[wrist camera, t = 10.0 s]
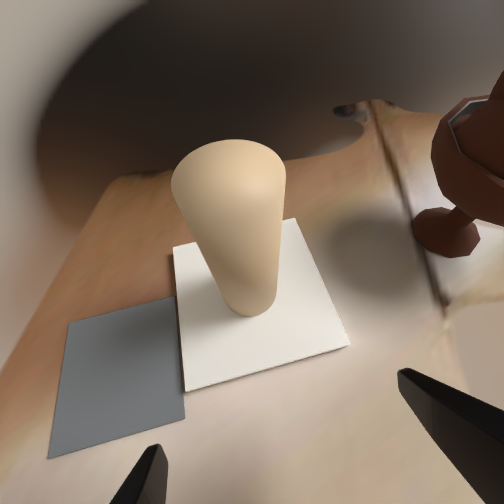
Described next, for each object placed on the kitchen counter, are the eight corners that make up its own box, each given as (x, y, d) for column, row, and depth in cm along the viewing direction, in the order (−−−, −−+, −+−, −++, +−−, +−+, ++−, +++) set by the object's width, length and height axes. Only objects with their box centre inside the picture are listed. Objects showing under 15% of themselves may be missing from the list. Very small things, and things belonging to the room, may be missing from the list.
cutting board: (347, 346, 18) (351, 344, 17) (189, 391, 17) (185, 391, 16) (293, 223, 24) (294, 217, 23) (176, 252, 23) (172, 247, 22)
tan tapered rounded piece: (283, 308, 18) (303, 203, 8) (229, 323, 18) (175, 233, 8) (268, 260, 21) (267, 130, 10) (219, 273, 20) (167, 152, 10)
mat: (185, 418, 16) (184, 418, 16) (50, 458, 15) (47, 459, 15) (175, 296, 20) (174, 295, 20) (70, 323, 20) (68, 323, 20)
